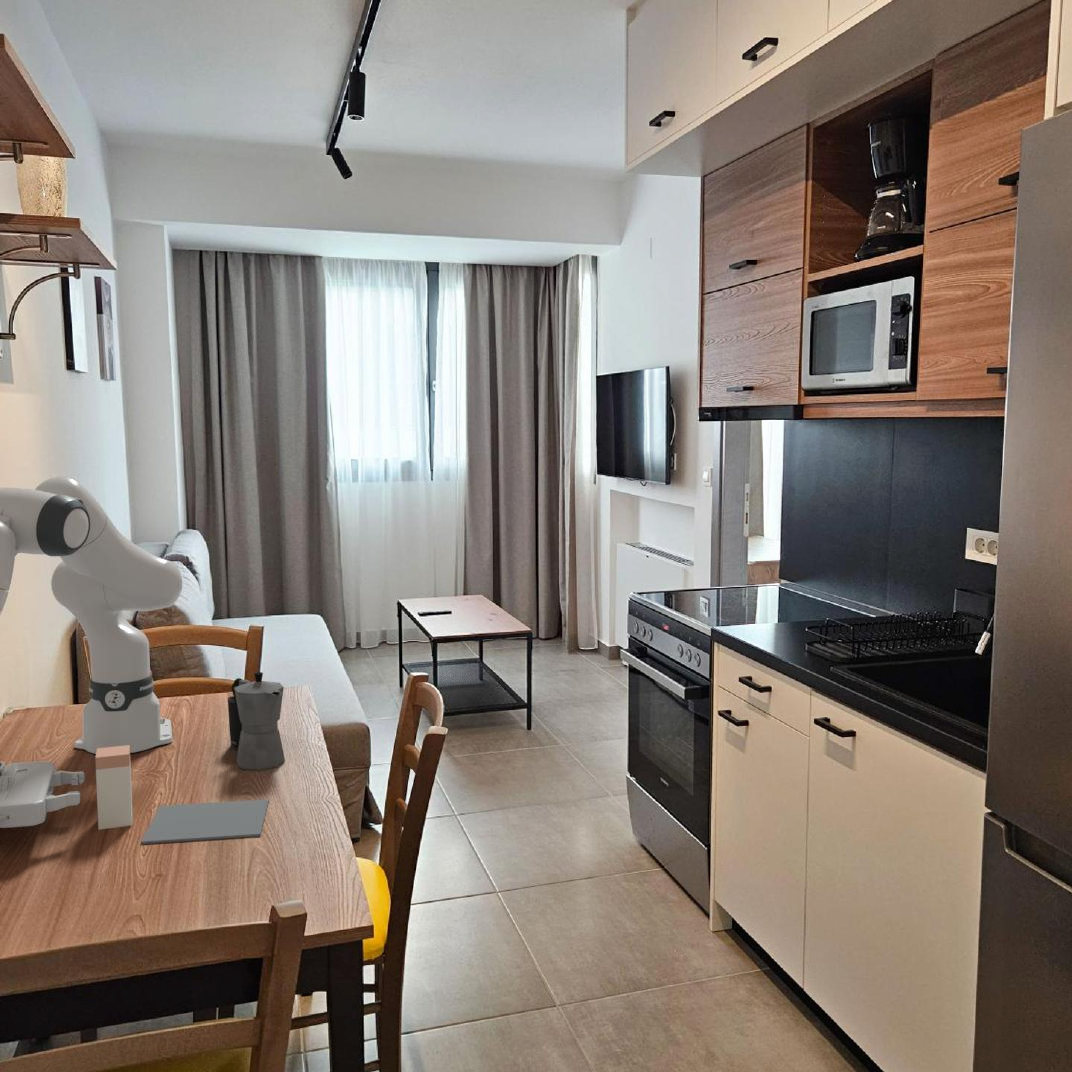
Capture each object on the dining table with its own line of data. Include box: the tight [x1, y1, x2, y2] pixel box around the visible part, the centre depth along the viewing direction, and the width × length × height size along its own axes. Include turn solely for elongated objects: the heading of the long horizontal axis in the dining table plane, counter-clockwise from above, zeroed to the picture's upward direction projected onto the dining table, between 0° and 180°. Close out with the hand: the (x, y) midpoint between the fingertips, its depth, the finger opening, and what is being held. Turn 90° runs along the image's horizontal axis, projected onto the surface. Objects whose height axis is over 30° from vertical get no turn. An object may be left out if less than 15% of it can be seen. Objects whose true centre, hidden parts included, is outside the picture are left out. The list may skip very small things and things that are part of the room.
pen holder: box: [227, 695, 242, 751], centre depth 201 cm, size 9×9×10 cm
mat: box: [140, 798, 270, 845], centre depth 162 cm, size 15×18×1 cm
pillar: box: [95, 745, 133, 831], centre depth 161 cm, size 5×5×12 cm
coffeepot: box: [231, 671, 286, 771], centre depth 191 cm, size 15×9×18 cm, turn 50°
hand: (82, 787), depth 159 cm, fingers open, 8 cm apart
